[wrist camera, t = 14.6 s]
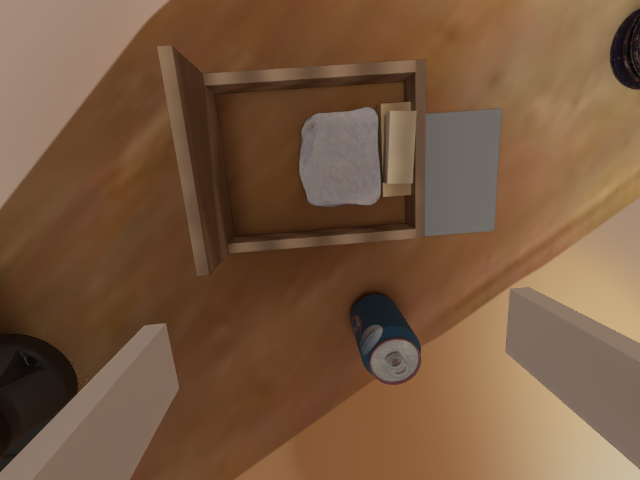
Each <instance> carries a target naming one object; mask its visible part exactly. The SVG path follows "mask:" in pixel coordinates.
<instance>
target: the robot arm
mask: <svg viewBox="0 0 640 480" xmlns="http://www.w3.org/2000/svg"><path fill="white" fill-rule="evenodd" d="M506 353H507V354H509V355H510V356H511V357H512V358H513V359H514V360H515V361H516V362H518V363H519V364H520V365H521V366H522V367H523V368H525V369H526V370H527V371H528V372H529V373H530V374H531V375H533V376H534V377H535V378H536V379H537V380H538V381H539V382H541V383H542V384H543V385H544V386H545V387H546V388H548V390H550V391H551V392H552V393H553V394H554V395H555V396H557V397H558V398H559V399H560V400H561V401H562V402H563V403H565V404H566V405H567V406H568V407H569V408H570V409H571V410H573V411H574V412H575V413H576V414H577V415H578V416H579V417H581V418H582V419H583V420H584V421H585V422H586V423H587V424H589V425H590V426H591V427H592V428H593V429H594V430H595V431H597V432H598V433H599V434H600V435H601V436H602V437H604V438H605V439H606V440H607V441H608V442H609V443H610V444H611V445H613V446H614V447H615V448H616V449H617V450H618V451H619V452H621V453H622V454H623V455H624V456H625V457H626V458H627V459H629V460H630V461H631V462H632V463H633V464H634V465H636V466H637V467H638V468H639V469H640V343H638V342H636V341H634V340H632V339H630V338H628V337H626V336H624V335H622V334H620V333H618V332H616V331H614V330H612V329H610V328H608V327H606V326H605V325H602V324H601V323H598V322H596V321H595V320H593V319H591V318H589V317H587V316H585V315H583V314H580V313H579V312H577V311H575V310H573V309H571V308H569V307H567V306H565V305H563V304H561V303H559V302H557V301H555V300H553V299H551V298H549V297H547V296H545V295H543V294H541V293H539V292H537V291H535V290H533V289H531V288H529V287H525V288H515V289H510V296H509V310H508V324H507V338H506ZM178 389H179V385H178V380H177V375H176V370H175V366H174V361H173V356H172V351H171V346H170V341H169V336H168V331H167V326H166V323H163V324H153V325H144V326H143V327H142V328H141V329H140V330H139V331H138V332H137V333H136V335H135V336H134V337H133V338H132V339H131V340H130V341H129V342H128V343H127V344H126V345H125V346H124V347H123V348H122V349H121V350H120V351H119V352H118V353H117V354H116V355H115V356H114V357H113V358H112V359H111V360H110V361H109V362H108V363H107V364H106V365H105V366H104V367H103V368H102V369H101V370H100V371H99V372H98V373H97V374H96V375H95V376H94V377H93V378H92V379H91V380H90V381H89V382H88V383H87V384H86V385H85V387H84V388H83V389H82V390H81V391H80V392H79V393H78V394H77V395H76V393H77V381H76V376H75V373H74V371H73V369H72V367H71V365H70V364H69V362H68V361H67V359H66V358H65V357H64V356H63V355H62V354H61V353H60V352H59V351H58V350H56V349H55V348H54V347H52V346H51V345H49V344H47V343H45V342H43V341H41V340H39V339H36V338H33V337H29V336H25V335H16V334H10V335H2V336H0V458H1V459H0V480H130V478H131V476H132V474H133V473H134V471H135V469H136V467H137V465H138V463H139V461H140V460H141V458H142V456H143V454H144V452H145V450H146V448H147V447H148V445H149V443H150V441H151V439H152V437H153V436H154V434H155V432H156V430H157V428H158V426H159V424H160V423H161V421H162V419H163V417H164V415H165V413H166V411H167V410H168V408H169V406H170V404H171V402H172V400H173V398H174V397H175V395H176V393H177V391H178Z"/></svg>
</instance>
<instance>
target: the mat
mask: <svg viewBox="0 0 640 480" xmlns="http://www.w3.org/2000/svg"><path fill="white" fill-rule="evenodd" d="M501 111H502V109H490V110H476V111H461V112H447V113H432V114H426V154H425V236H435V235H447V234H460V233H472V232H484V231H494V227H495V210H496V194H497V177H498V161H499V144H500V128H501Z"/></svg>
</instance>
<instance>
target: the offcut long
mask: <svg viewBox="0 0 640 480" xmlns="http://www.w3.org/2000/svg"><path fill="white" fill-rule="evenodd" d="M389 111H411V102H400V103H386V104H380V105H379V106H378V107H377V108H376V113H377V116H378V153H379V161H380V177H381V195H380V196H382V197H389V196H402V195H411V183H403V184H386V183H382V179H383V149H384V118H385V114H386V113H388V112H389Z"/></svg>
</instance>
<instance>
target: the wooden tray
mask: <svg viewBox="0 0 640 480" xmlns="http://www.w3.org/2000/svg"><path fill="white" fill-rule="evenodd" d="M157 47H158V53H159V59H160V65H161V70H162V76H163V82H164V88H165V94H166V99H167V105H168V111H169V117H170V122H171V128H172V134H173V140H174V146H175V151H176V157H177V163H178V169H179V175H180V180H181V186H182V192H183V198H184V203H185V209H186V215H187V221H188V227H189V232H190V238H191V244H192V250H193V256H194V261H195V267H196V273H197V276H204V275H210V274H211V273H212V271H213V270H214V269H215V268H216V267H217V266H218V265H219V264H220V263H221V261H222V260H223V259H224V258H225V257H226V256H227V255H228V254H229V253H239V252H251V251H264V250H276V249H289V248H301V247H313V246H326V245H338V244H351V243H363V242H376V241H388V240H400V239H413V238H425V154H426V59H423V60H408V61H392V62H377V63H361V64H346V65H330V66H315V67H299V68H284V69H268V70H253V71H237V72H222V73H206V74H203V73H201V72H200V71H199V70H198V69H197V68H196V67H195V66H194V65H193V64H192V63H190V62H189V61H188V60H187V59H186V58H185V57H184V56H183V55H182V54H181V53H180V52H178V51H177V50H176V49H175V48H174V47H173V46H172V45H171V46H157ZM390 82H404V88H405V102H411V111H417V114H416V132H415V150H414V168H413V183H411V195H405V223H404V224H392V225H379V226H366V227H354V228H341V229H328V230H316V231H303V232H290V233H278V234H265V235H252V236H240V237H235V235H234V228H233V221H232V214H231V207H230V199H229V192H228V185H227V178H226V171H225V163H224V156H223V149H222V142H221V134H220V127H219V120H218V113H217V106H216V98H215V94H224V93H239V92H254V91H269V90H284V89H299V88H314V87H329V86H344V85H360V84H375V83H390Z"/></svg>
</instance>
